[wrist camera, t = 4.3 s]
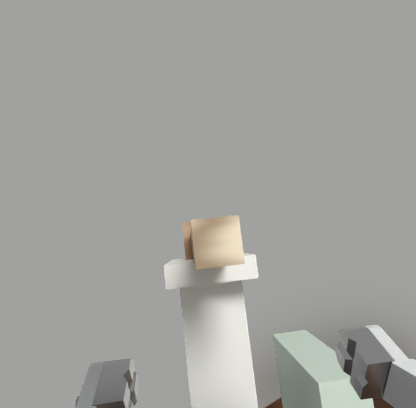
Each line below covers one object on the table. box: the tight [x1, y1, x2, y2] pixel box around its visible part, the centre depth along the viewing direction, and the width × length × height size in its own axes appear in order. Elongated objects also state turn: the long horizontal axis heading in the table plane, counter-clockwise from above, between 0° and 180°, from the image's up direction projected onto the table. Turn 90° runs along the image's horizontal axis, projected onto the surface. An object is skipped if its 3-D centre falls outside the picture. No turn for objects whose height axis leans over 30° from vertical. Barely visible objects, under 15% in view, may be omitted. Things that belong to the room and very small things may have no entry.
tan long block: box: [182, 215, 245, 270], centre depth 25 cm, size 4×19×4 cm, turn 4°
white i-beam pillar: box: [164, 253, 259, 408], centre depth 28 cm, size 12×12×26 cm
